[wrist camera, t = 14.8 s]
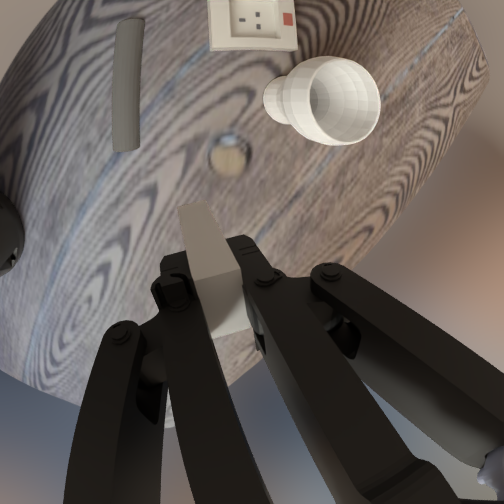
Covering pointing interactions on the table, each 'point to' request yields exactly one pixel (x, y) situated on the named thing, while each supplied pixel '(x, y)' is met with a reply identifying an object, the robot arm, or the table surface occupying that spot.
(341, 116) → the cup
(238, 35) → the socket plate
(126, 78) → the gray half cylinder
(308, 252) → the table surface
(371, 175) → the table surface
